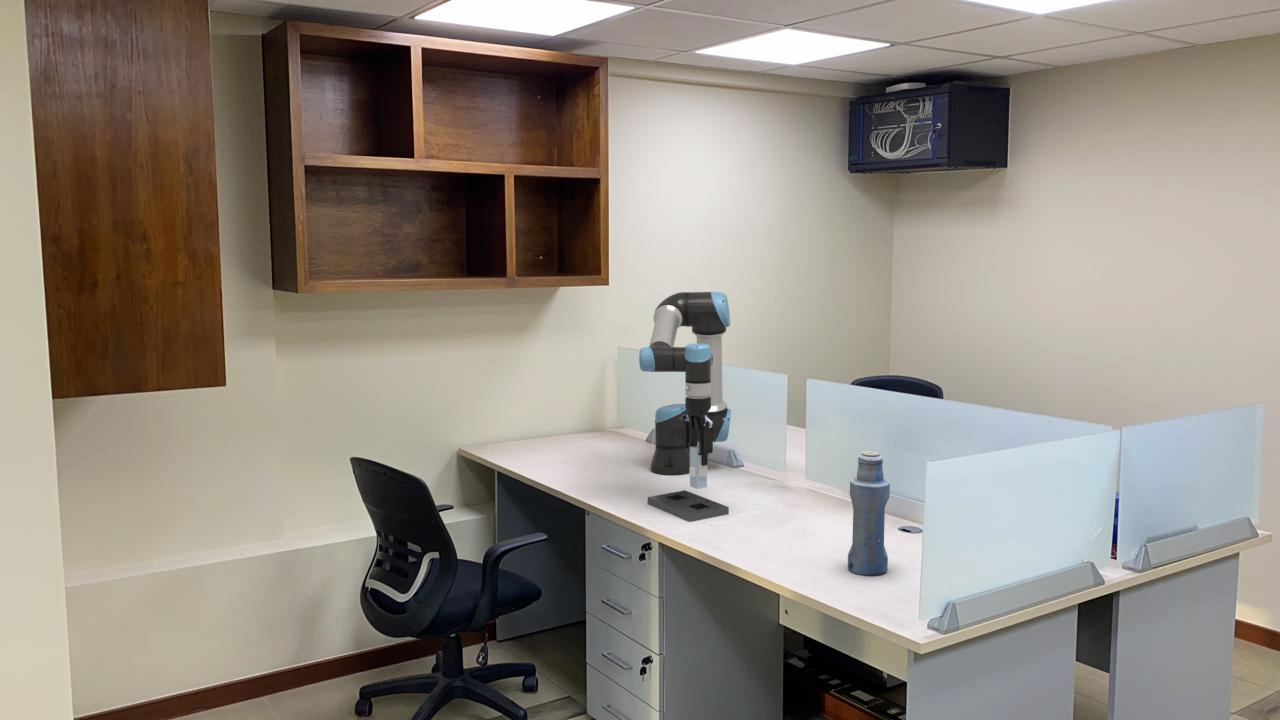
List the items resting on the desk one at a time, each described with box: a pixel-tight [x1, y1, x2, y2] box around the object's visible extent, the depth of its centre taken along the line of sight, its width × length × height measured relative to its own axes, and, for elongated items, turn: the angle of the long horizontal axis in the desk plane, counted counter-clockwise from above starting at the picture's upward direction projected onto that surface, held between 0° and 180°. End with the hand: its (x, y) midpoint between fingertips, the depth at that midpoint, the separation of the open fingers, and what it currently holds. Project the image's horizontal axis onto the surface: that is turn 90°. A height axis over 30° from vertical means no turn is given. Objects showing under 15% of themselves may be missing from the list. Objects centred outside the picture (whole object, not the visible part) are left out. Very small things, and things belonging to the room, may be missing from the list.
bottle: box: [847, 450, 891, 576], centre depth 247 cm, size 10×10×30 cm
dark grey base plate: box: [647, 490, 730, 523], centre depth 302 cm, size 14×23×3 cm, turn 32°
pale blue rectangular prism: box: [689, 445, 708, 490], centre depth 295 cm, size 4×4×12 cm
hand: (698, 474), depth 295 cm, fingers closed on pale blue rectangular prism, 4 cm apart
